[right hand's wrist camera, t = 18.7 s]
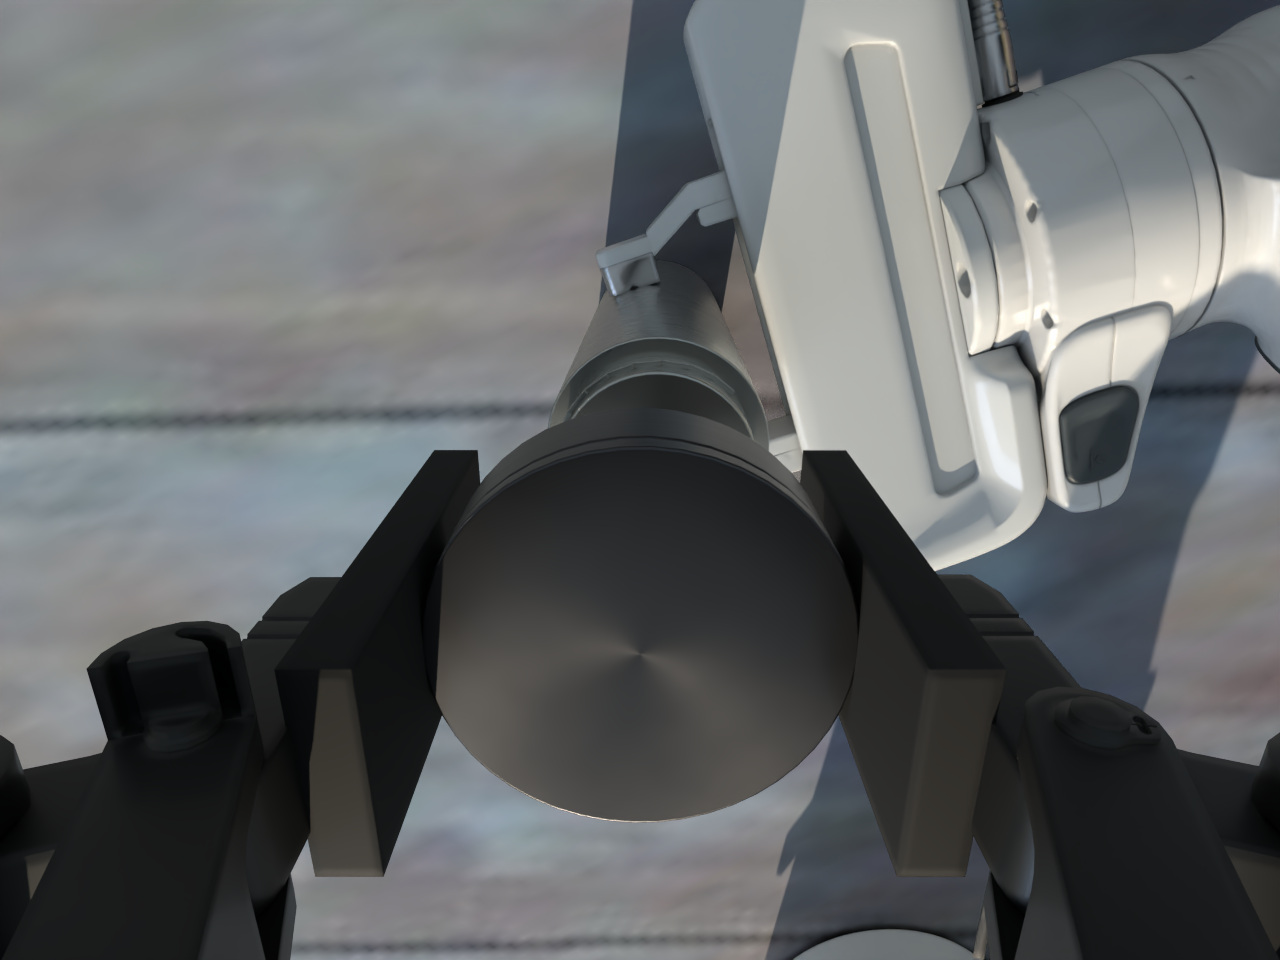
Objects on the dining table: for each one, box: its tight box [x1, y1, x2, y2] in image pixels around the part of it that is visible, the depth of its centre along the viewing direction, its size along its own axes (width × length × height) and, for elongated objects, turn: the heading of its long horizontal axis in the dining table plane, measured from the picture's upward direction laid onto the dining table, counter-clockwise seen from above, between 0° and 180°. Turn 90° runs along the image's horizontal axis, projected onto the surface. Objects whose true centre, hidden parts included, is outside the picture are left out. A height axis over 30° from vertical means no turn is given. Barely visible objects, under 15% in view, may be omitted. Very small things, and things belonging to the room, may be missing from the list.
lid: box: [421, 408, 859, 822], centre depth 11 cm, size 6×6×2 cm
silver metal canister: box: [548, 261, 769, 451], centre depth 25 cm, size 5×5×18 cm
